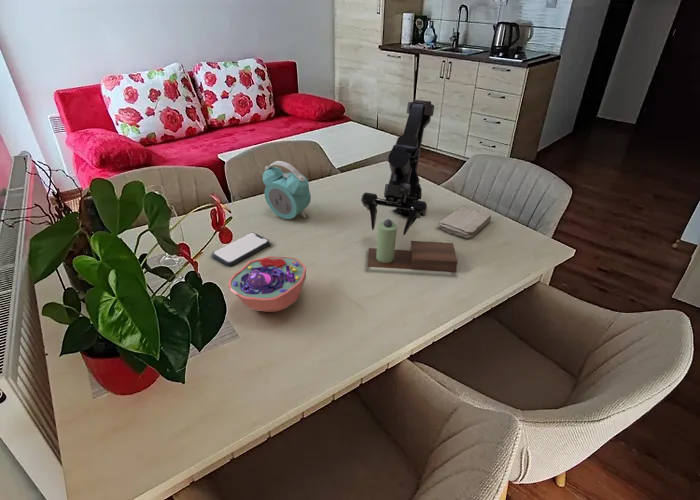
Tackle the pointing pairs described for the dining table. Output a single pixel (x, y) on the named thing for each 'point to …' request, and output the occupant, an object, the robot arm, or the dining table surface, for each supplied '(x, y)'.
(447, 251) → the spice riser
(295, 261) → the cell model
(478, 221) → the washcloth
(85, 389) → the dining table surface
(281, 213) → the alarm clock
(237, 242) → the smartphone
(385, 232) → the pepper mill
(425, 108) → the robot arm
